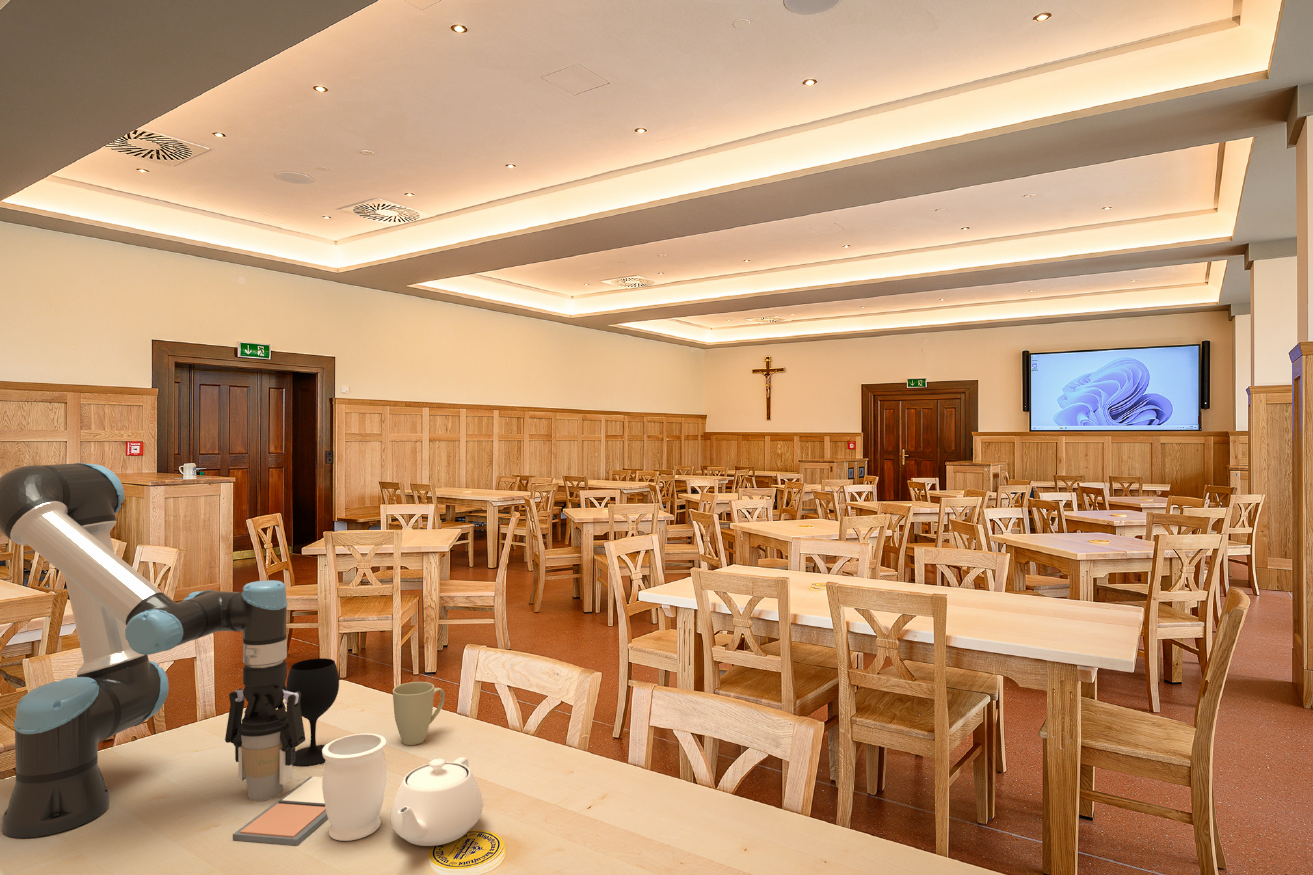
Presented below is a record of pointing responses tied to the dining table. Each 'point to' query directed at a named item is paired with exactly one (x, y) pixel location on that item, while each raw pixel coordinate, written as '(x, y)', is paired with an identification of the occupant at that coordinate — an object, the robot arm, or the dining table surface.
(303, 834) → the makeup palette
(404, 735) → the mug
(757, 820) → the dining table surface
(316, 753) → the wine glass
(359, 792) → the jar
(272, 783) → the coffee cup
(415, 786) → the teapot
